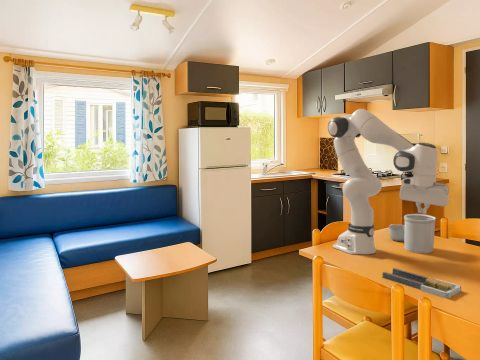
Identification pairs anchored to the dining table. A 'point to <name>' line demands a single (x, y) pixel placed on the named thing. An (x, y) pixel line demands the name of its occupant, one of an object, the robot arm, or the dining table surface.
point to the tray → (440, 293)
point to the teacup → (397, 232)
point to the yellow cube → (444, 286)
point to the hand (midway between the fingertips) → (422, 213)
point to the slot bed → (405, 278)
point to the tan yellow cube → (431, 282)
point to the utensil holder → (419, 233)
